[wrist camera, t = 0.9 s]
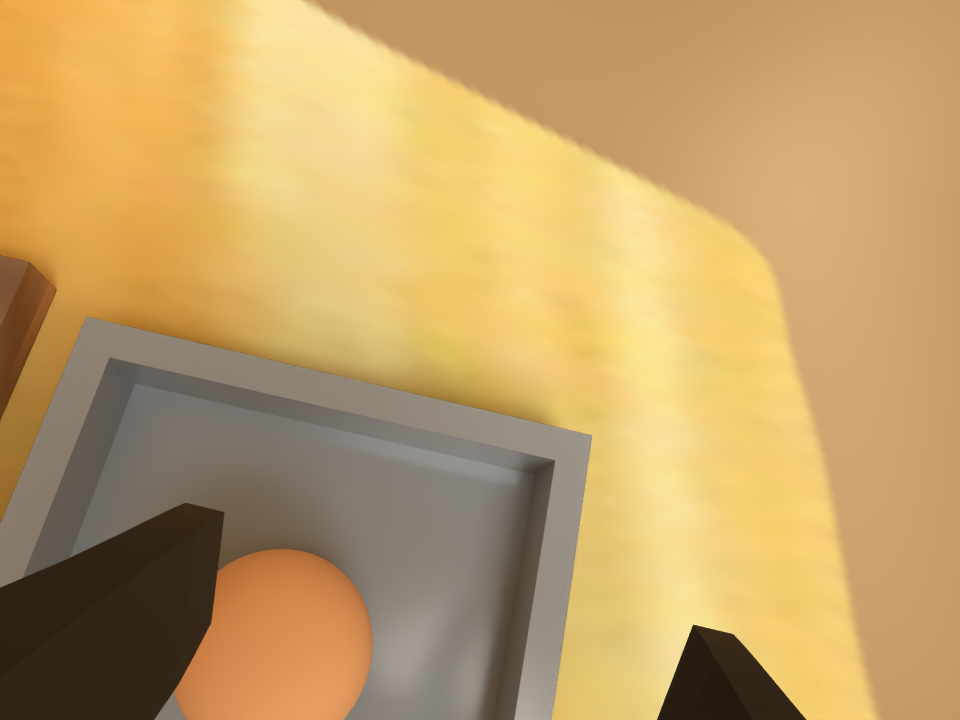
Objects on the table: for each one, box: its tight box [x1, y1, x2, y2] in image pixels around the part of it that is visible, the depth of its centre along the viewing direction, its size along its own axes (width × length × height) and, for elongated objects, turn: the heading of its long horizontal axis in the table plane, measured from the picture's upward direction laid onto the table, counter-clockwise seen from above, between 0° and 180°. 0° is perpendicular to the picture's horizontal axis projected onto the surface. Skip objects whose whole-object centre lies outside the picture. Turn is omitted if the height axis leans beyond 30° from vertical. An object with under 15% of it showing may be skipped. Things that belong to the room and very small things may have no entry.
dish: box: [0, 317, 592, 720], centre depth 20 cm, size 15×15×3 cm
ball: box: [174, 549, 373, 720], centre depth 19 cm, size 5×5×5 cm
